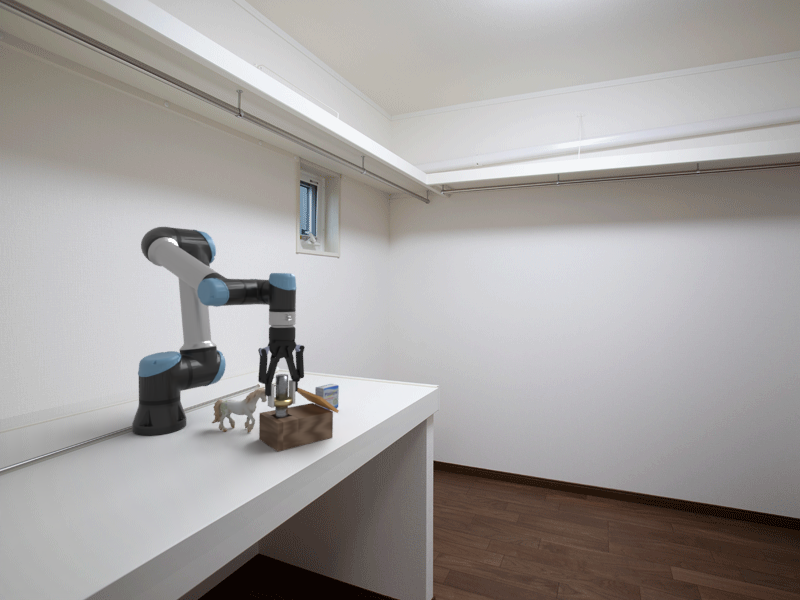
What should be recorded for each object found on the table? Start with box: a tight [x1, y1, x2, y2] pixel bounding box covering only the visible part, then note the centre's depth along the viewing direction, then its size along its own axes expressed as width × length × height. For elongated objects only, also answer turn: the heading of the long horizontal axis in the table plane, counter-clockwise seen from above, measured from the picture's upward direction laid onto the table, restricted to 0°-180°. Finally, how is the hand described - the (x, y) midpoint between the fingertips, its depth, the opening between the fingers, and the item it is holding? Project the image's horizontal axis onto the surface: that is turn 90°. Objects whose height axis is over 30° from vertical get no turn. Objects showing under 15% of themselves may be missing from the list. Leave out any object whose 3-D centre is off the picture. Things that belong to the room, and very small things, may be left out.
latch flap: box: [296, 387, 340, 414], centre depth 137 cm, size 8×17×1 cm
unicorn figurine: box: [211, 384, 276, 434], centre depth 140 cm, size 7×20×13 cm, turn 104°
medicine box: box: [314, 383, 340, 410], centre depth 165 cm, size 8×4×9 cm, turn 143°
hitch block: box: [258, 402, 334, 453], centre depth 133 cm, size 18×12×8 cm, turn 132°
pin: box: [274, 373, 293, 419], centre depth 130 cm, size 6×6×16 cm
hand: (281, 404), depth 130 cm, fingers closed on pin, 6 cm apart
